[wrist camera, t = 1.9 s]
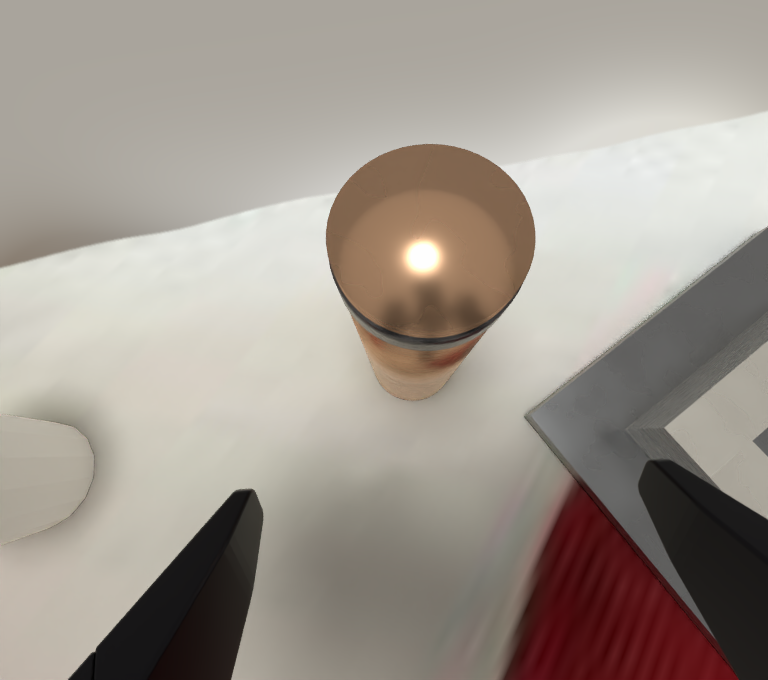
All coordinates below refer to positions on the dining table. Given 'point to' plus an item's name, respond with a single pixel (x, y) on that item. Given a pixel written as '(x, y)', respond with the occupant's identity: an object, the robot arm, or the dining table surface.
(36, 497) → the shot glass
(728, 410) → the frame
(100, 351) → the dining table surface
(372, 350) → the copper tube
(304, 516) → the dining table surface
